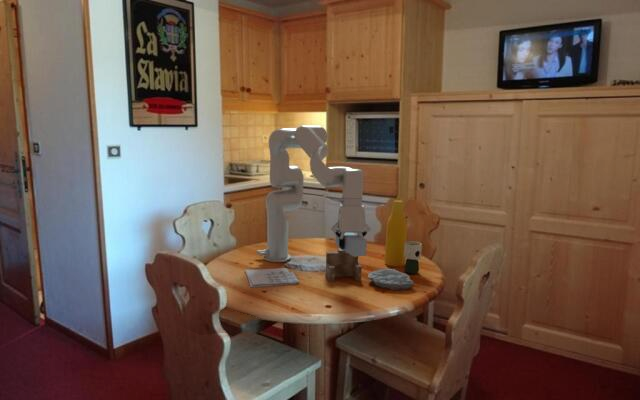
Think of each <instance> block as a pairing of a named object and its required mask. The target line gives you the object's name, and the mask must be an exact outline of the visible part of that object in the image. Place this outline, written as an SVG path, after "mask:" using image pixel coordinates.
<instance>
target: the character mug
mask: <svg viewBox="0 0 640 400" xmlns="http://www.w3.org/2000/svg"><path fill="white" fill-rule="evenodd" d="M422 245H423V244H422V243H421V242H418V241H406V242H405V249H404V257H405V265H404V270H403V271H404V273H408V274H409V275H410V274H411V275H416V274H419V272H420V265H419V260H421V258H422V250H423V249H422V247H423V246H422Z"/></svg>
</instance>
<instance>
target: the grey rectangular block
mask: <svg viewBox="0 0 640 400" xmlns="http://www.w3.org/2000/svg"><path fill="white" fill-rule="evenodd" d="M336 231H338V232H339V233H340V230H339V229H338V228H337V229H336ZM343 239H344V249H342V250H344V251H345V252H347V253H349V254H350V255H352V256H354V257H356V256H358V257H362V256H363V257H365V256H367V247H368V245H367V243H368V239H366V238H364V237H363V238H362V237H360V236H358V234H356V233H355V232H352V233H345V234H344V237H343ZM335 246H336V247H337V248H338V249H341V248H340V247H339V237H338V236H337V235H336V234H335Z"/></svg>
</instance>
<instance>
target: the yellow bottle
mask: <svg viewBox="0 0 640 400" xmlns="http://www.w3.org/2000/svg"><path fill="white" fill-rule="evenodd" d="M392 202H393V203H392V209H391V214H390V216H389V218H388V220H387V222H386V229H385V230H386V233H385V251H384V264H385V265H386V266H388V267H393V268H400V267H405V263H406V258H405V257H404V249H405V242H407V238H408V237H407V236H408V223H407V220H406V218H405V214H404V213H405V212H404V211H405V210H404V201H403V200H398V199H396V200H393V201H392Z"/></svg>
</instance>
